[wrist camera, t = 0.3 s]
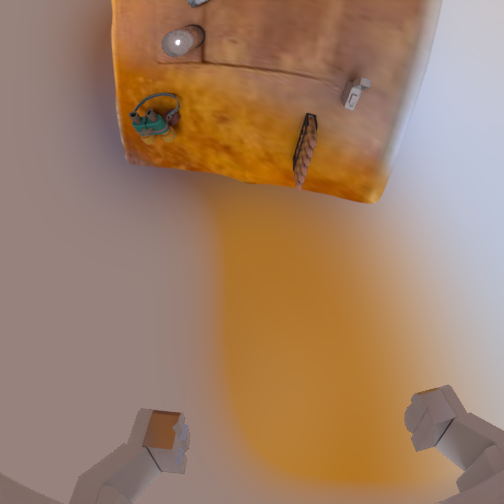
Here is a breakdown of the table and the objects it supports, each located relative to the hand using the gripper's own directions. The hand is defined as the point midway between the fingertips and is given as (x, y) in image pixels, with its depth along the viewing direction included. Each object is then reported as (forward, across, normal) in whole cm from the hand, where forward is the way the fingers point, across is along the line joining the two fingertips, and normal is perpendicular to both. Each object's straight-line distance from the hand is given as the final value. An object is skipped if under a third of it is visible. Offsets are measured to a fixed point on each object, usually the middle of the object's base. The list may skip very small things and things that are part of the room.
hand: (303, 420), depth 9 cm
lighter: (+47, -16, -18) cm, 53 cm away
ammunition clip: (+53, -8, -8) cm, 55 cm away
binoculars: (+54, +19, -15) cm, 59 cm away
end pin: (+46, +11, -28) cm, 55 cm away
